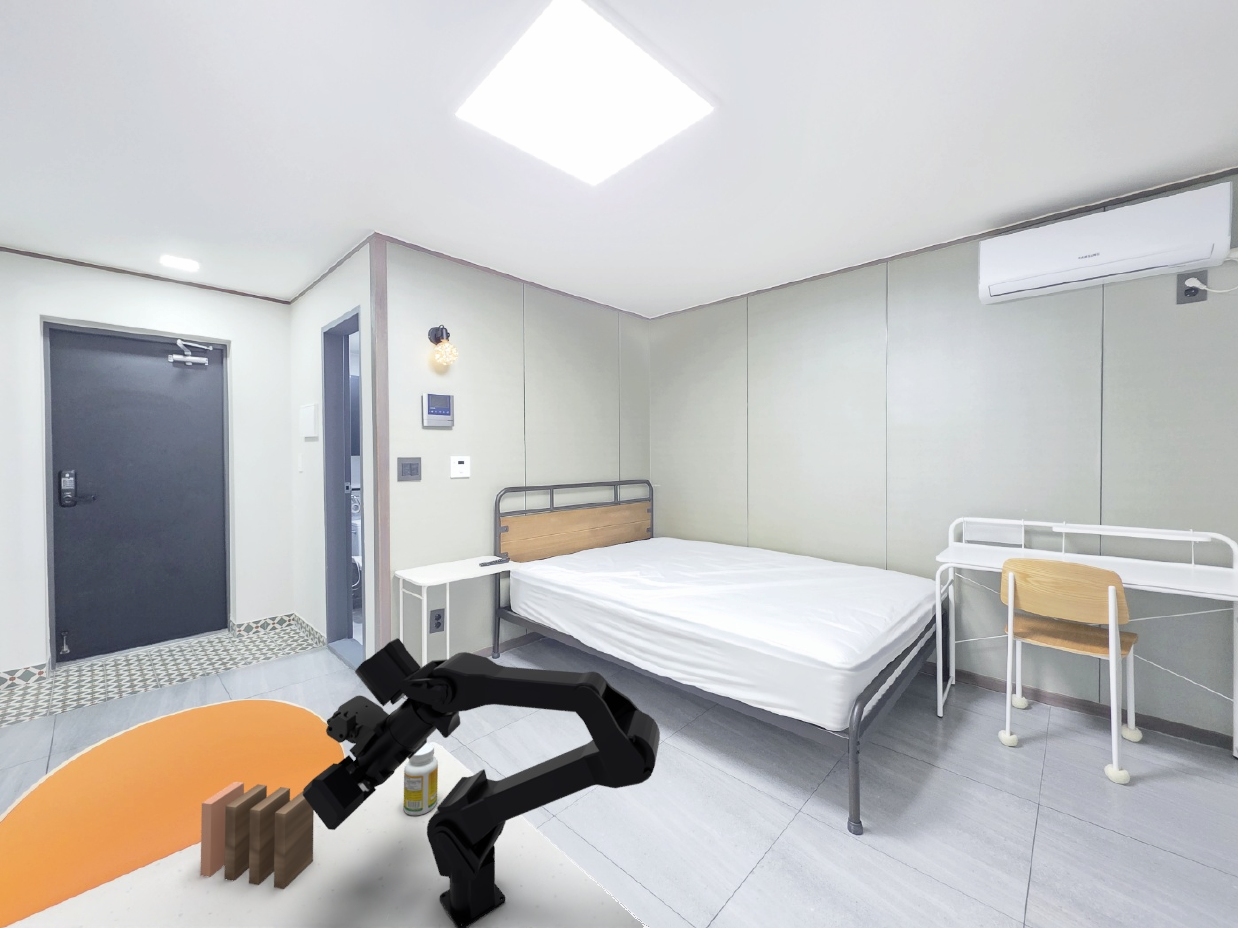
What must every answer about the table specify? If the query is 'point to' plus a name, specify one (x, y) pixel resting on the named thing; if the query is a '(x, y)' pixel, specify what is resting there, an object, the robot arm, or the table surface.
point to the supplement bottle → (421, 781)
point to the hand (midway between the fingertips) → (334, 800)
